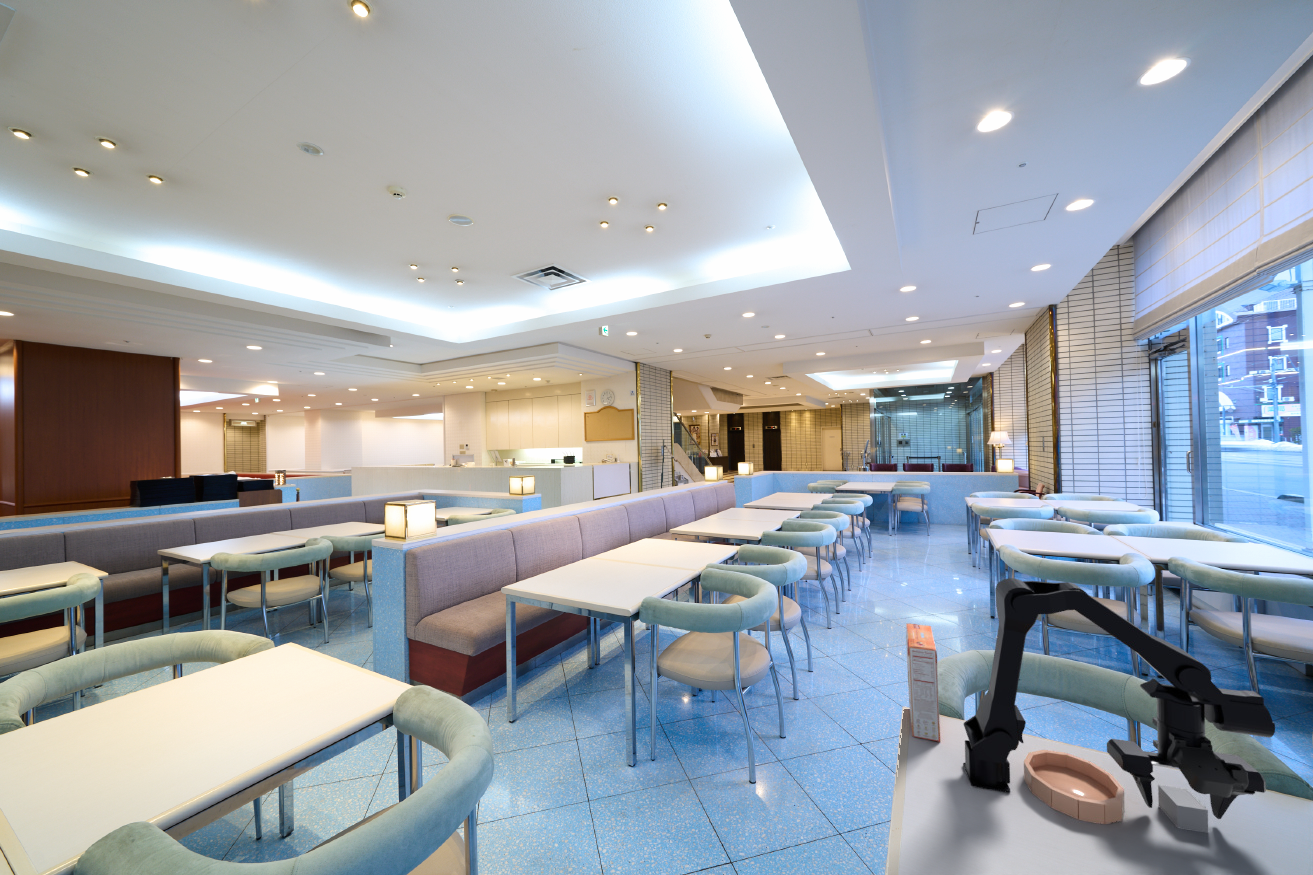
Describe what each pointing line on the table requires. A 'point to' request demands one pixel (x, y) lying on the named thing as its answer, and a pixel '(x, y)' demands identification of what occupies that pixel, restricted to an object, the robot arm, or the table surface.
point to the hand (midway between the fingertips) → (1182, 811)
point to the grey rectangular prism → (1183, 808)
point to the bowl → (1074, 786)
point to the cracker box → (923, 682)
